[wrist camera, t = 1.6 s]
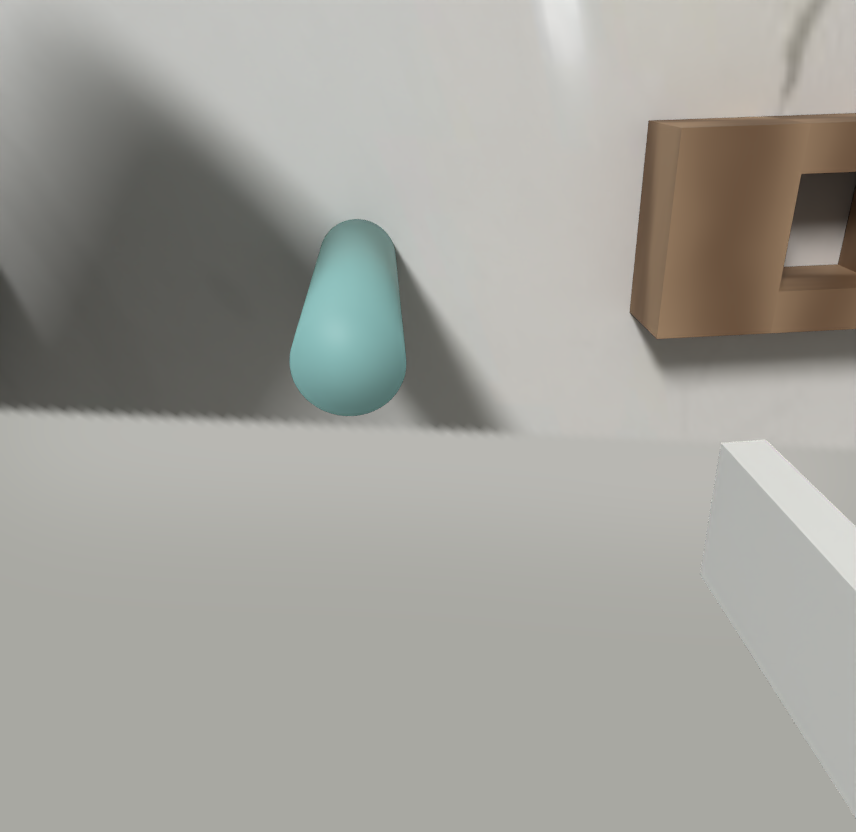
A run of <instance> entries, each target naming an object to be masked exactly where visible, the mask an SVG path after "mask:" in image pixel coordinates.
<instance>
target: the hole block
mask: <svg viewBox="0 0 856 832" xmlns="http://www.w3.org/2000/svg"><path fill="white" fill-rule="evenodd" d="M837 172H856V113H849V114H821V115H793V116H765V117H738V118H710V119H682V120H654V121H649V123H648V133H647V143H646V153H645V163H644V173H643V183H642V194H641V204H640V214H639V224H638V234H637V244H636V254H635V264H634V274H633V284H632V294H631V304H630V313H631V314H632V315H633V316H634V317H635V318H636V319H637V320H638V321H639V322H640V323H641V324H642V325H643V326H644V327H645V328H646V329H647V330H648V331H649V332H650V333H651V334H652V335H653V336H654V337H655V338H656V339H665V338H685V337H705V336H725V335H745V334H765V333H785V332H805V331H825V330H845V329H856V187H855V191H854V196H853V200H852V205H851V209H850V214H849V218H848V222H847V227H846V231H845V236H844V240H843V245H842V249H841V253H840V258H839V262H838V265H817V266H795V267H784V262H785V256H786V251H787V246H788V241H789V236H790V230H791V225H792V220H793V215H794V210H795V204H796V199H797V194H798V189H799V184H800V178H801V174H812V173H837Z"/></svg>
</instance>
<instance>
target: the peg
mask: <svg viewBox="0 0 856 832" xmlns="http://www.w3.org/2000/svg"><path fill="white" fill-rule="evenodd" d="M290 370H291V375H292V378H293V380H294V383H295V385H296V386H297V388H298V390H299V391H300V393H301V394H302V395H303V396H304V397H305V398H306V399H307V400H308V401H309V402H310V403H312V404H313V405H314V406H316V407H317V408H319V409H321V410H323V411H326V412H329V413H331V414H336V415H342V416H357V415H363V414H367V413H370V412H372V411H375V410H377V409H379V408H381V407H382V406H384V405H385V404H386V403H388V402H389V401H390V400H391V399H392V398H393V397H394V395H395V394H396V393H397V391H398V390H399V388H400V387H401V384H402V382H403V380H404V376H405V372H406V353H405V343H404V334H403V324H402V314H401V304H400V294H399V284H398V274H397V265H396V255H395V249H394V245H393V243H392V241H391V239H390V237H389V236H388V234H387V233H386V232H385V231H384V230H383V229H382V228H381V227H379V226H378V225H376V224H374V223H372V222H370V221H366V220H361V219H353V220H347V221H344V222H342V223H339V224H338V225H336V226H335V227H333V228H332V229H331V230H330V231H329V232H328V234H327V235H326V236H325V238H324V240H323V242H322V245H321V248H320V252H319V255H318V259H317V262H316V265H315V269H314V272H313V276H312V279H311V282H310V286H309V289H308V293H307V296H306V299H305V303H304V306H303V310H302V313H301V316H300V320H299V323H298V327H297V330H296V333H295V337H294V340H293V344H292V347H291V352H290Z"/></svg>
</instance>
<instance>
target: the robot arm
mask: <svg viewBox="0 0 856 832" xmlns="http://www.w3.org/2000/svg"><path fill="white" fill-rule="evenodd" d="M700 575H701V577H702V579H703V580H704V582H705V583H706V585H707V586H708V588H709V589H710V591H711V592H712V594H713V596H714V597H715V599H716V600H717V602H718V604H719V605H720V607H721V608H722V610H723V611H724V613H725V615H726V616H727V618H728V619H729V621H730V622H731V624H732V625H733V627H734V629H735V630H736V632H737V633H738V635H739V637H740V638H741V640H742V641H743V643H744V644H745V646H746V647H747V649H748V651H749V652H750V654H751V655H752V657H753V658H754V660H755V661H756V663H757V665H758V666H759V668H760V669H761V671H762V673H763V674H764V676H765V677H766V679H767V680H768V682H769V684H770V685H771V687H772V688H773V690H774V691H775V693H776V695H777V696H778V698H779V699H780V701H781V702H782V704H783V706H784V707H785V709H786V710H787V712H788V713H789V715H790V716H791V718H792V720H793V721H794V723H795V724H796V726H797V727H798V729H799V731H800V732H801V734H802V735H803V737H804V738H805V740H806V742H807V743H808V745H809V746H810V748H811V749H812V751H813V753H814V754H815V756H816V757H817V759H818V760H819V762H820V764H821V765H822V767H823V768H824V770H825V771H826V773H827V775H828V776H829V778H830V779H831V781H832V782H833V784H834V786H835V787H836V788H837V790H838V792H839V793H840V795H841V796H842V798H843V800H844V801H845V803H846V804H847V806H848V808H849V809H850V810H851V812H852V814H853V815H854V817H855V818H856V526H855V525H854V524H853V523H852V522H850V520H849V519H847V518H846V517H845V516H844V515H843V514H842V513H841V512H840V511H839V510H838V509H837V508H836V507H835V506H834V505H833V504H832V503H831V502H830V501H829V500H828V499H827V498H826V497H825V496H823V494H822V493H820V491H818V490H817V489H816V488H815V487H814V486H813V485H812V484H811V483H810V482H809V481H808V480H807V479H806V478H805V477H804V476H803V475H802V474H801V473H800V472H799V471H798V470H797V469H796V468H795V467H794V466H793V465H792V464H791V463H790V462H789V461H787V460H786V459H785V458H784V457H783V456H782V455H781V454H780V453H779V452H778V451H777V450H776V449H775V448H774V447H773V446H772V445H771V444H770V443H769V442H768V441H767V440H754V441H740V442H726V443H721V446H720V452H719V458H718V465H717V471H716V478H715V484H714V490H713V497H712V502H711V509H710V515H709V521H708V528H707V534H706V540H705V547H704V553H703V559H702V565H701V572H700Z"/></svg>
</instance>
